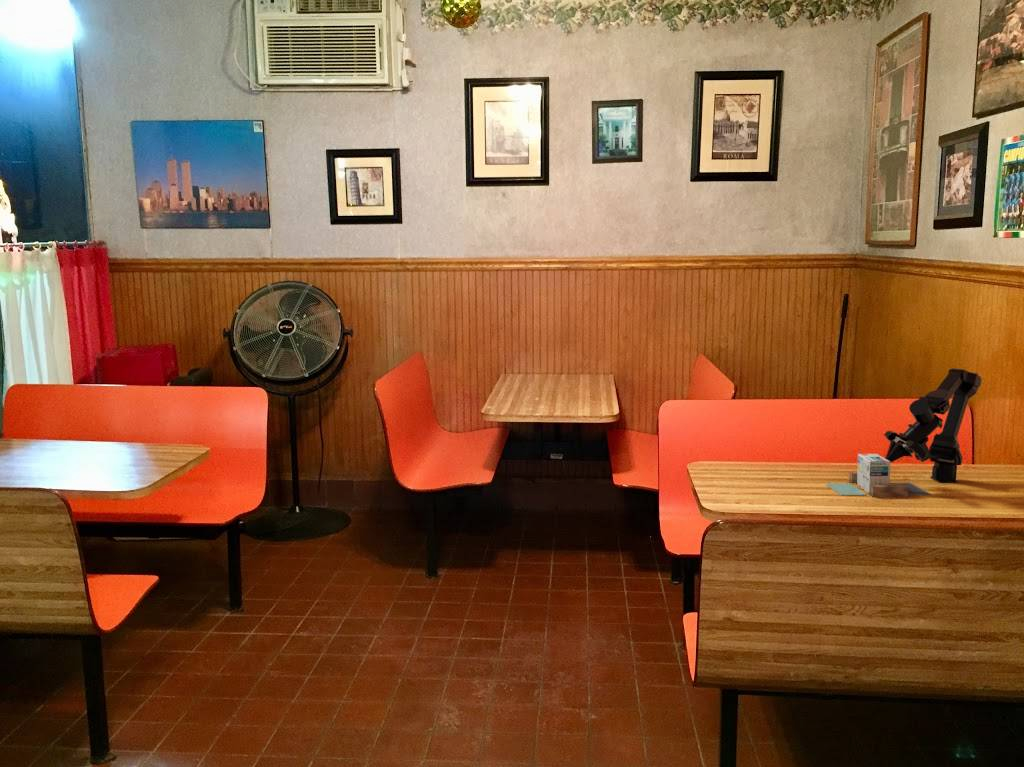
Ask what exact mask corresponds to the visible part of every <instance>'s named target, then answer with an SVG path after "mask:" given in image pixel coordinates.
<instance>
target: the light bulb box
mask: <svg viewBox="0 0 1024 767" xmlns="http://www.w3.org/2000/svg"><path fill="white" fill-rule="evenodd" d="M885 458H886V457H883V456H881V455H880V454H878V453H857V472H858V473H857V484H856V485H857V486H858V487H859V486H860V487H859V488H861V489H862V490H863V489H864V491H865V492H866V493H867V494H869V495H870V487H871V485H890V483H891V482H890V481H891V480H890V479H891V463H890V461H889V460H887V459H885Z"/></svg>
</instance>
